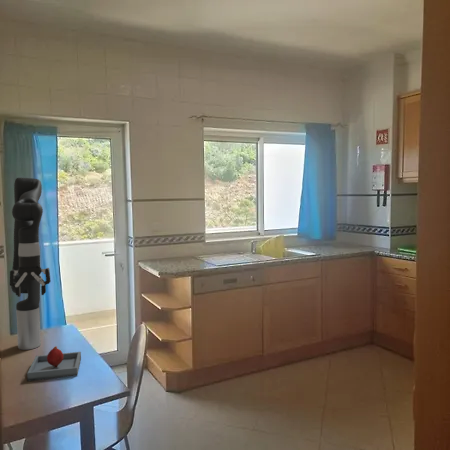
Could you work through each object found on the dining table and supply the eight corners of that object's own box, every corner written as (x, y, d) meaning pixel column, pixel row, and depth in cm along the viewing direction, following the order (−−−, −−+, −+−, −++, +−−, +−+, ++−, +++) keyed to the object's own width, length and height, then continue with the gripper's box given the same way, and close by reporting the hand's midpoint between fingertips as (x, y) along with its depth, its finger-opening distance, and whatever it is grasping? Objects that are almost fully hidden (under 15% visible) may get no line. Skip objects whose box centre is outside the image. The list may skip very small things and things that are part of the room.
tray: (36, 363, 168) (36, 355, 167) (81, 358, 172) (80, 351, 172) (27, 381, 151) (27, 373, 151) (77, 375, 155) (77, 367, 155)
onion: (48, 370, 158) (47, 350, 157) (46, 365, 163) (45, 345, 162) (64, 367, 160) (64, 347, 160) (62, 362, 165) (61, 342, 165)
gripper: (50, 252, 168) (52, 292, 169) (11, 253, 164) (13, 294, 165) (47, 254, 160) (49, 296, 161) (6, 256, 157) (8, 299, 158)
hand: (31, 295), depth 163 cm, fingers open, 8 cm apart
